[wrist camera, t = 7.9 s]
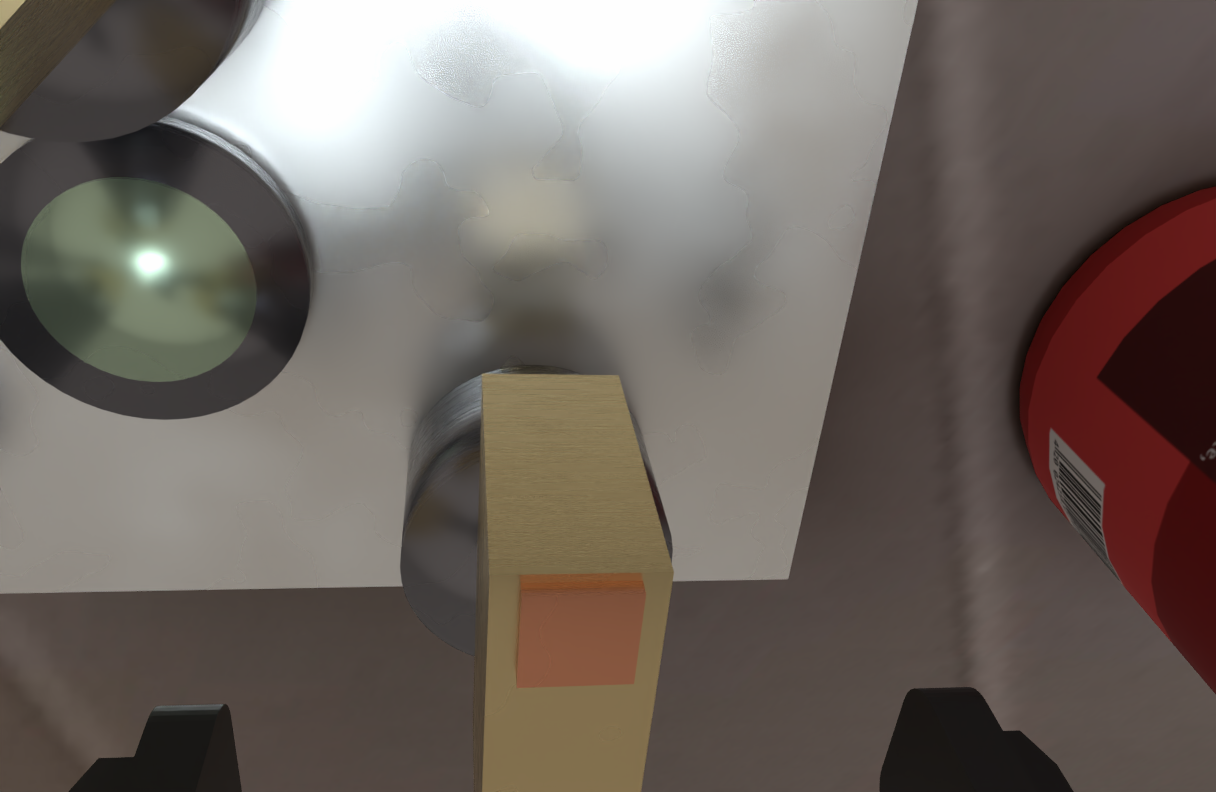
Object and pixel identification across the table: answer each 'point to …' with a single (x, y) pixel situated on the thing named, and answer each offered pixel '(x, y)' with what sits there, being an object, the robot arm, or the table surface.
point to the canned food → (1138, 415)
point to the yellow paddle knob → (109, 61)
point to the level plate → (434, 277)
